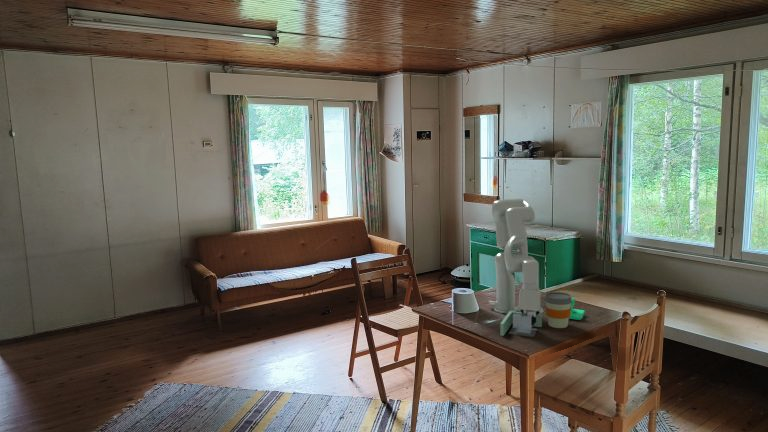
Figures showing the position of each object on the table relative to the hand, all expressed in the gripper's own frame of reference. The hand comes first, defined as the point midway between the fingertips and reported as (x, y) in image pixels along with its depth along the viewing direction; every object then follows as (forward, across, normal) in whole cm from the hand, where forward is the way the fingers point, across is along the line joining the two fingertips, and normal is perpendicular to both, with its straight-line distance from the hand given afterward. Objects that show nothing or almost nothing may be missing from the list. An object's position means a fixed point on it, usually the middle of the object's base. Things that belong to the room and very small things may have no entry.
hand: (530, 323), depth 252 cm
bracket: (+1, -3, 0) cm, 3 cm away
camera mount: (+4, +17, +30) cm, 34 cm away
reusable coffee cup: (+4, +11, +14) cm, 18 cm away
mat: (+4, -3, -1) cm, 5 cm away
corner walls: (+4, -4, 0) cm, 6 cm away
